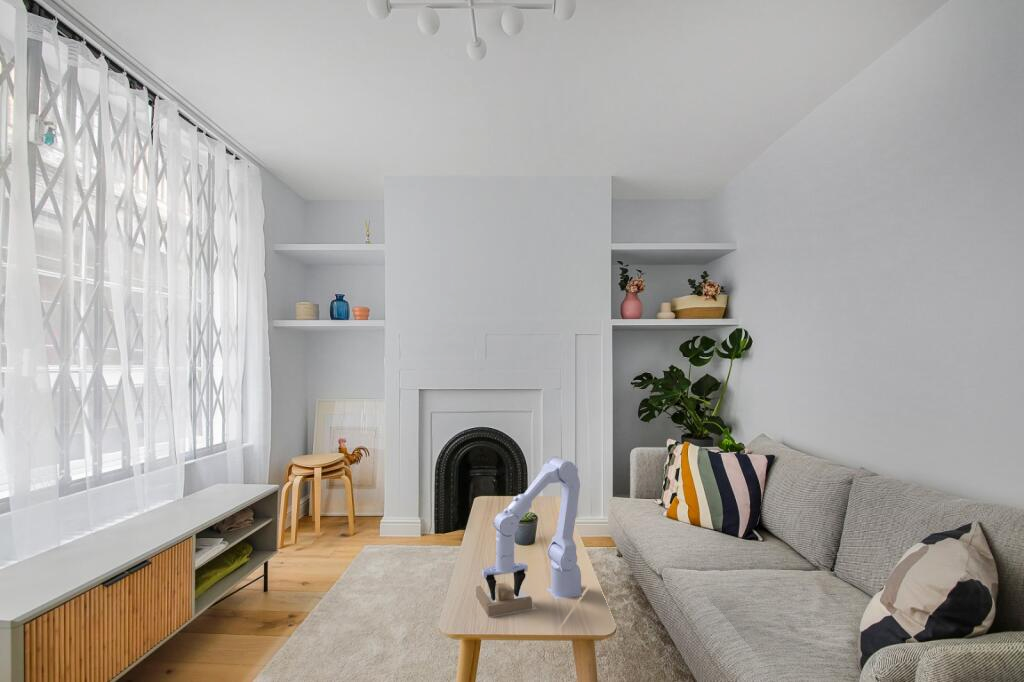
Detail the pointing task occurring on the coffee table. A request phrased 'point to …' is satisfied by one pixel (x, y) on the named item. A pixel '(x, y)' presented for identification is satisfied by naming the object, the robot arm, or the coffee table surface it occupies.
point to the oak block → (504, 592)
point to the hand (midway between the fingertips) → (504, 597)
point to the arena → (504, 603)
